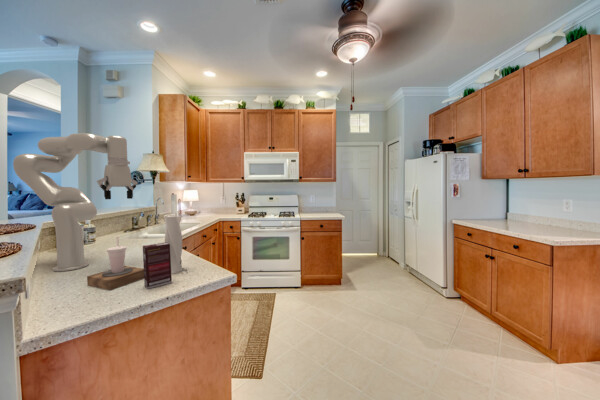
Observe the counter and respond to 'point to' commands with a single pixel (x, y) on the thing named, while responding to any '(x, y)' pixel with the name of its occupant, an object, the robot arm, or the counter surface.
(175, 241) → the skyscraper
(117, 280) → the plinth
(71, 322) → the counter surface
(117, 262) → the smoothie
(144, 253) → the supplement box
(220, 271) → the counter surface
